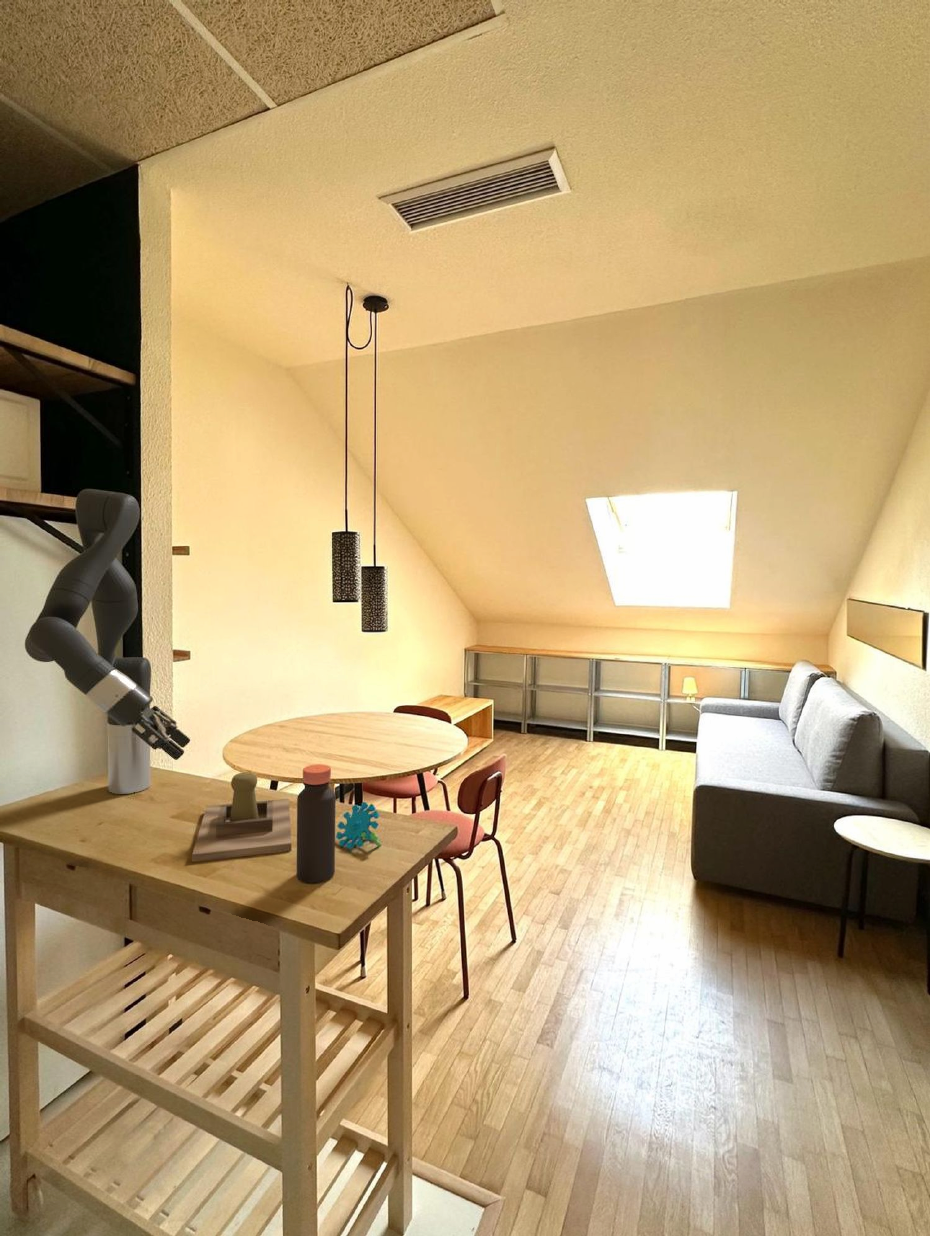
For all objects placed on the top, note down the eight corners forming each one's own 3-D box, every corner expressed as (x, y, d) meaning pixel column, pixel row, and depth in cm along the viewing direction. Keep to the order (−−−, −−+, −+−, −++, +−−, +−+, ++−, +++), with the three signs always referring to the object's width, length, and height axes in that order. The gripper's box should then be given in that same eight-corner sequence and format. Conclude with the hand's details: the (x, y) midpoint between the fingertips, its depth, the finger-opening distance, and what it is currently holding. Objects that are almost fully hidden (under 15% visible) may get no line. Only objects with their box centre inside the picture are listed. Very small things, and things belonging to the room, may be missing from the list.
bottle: (290, 872, 105) (291, 766, 104) (325, 862, 109) (326, 760, 108) (305, 889, 100) (306, 777, 99) (340, 877, 104) (342, 770, 103)
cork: (246, 816, 126) (246, 767, 125) (265, 822, 123) (265, 772, 122) (222, 826, 120) (222, 775, 120) (241, 833, 117) (241, 781, 117)
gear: (326, 831, 119) (359, 792, 122) (342, 844, 122) (374, 806, 126) (352, 858, 111) (387, 816, 114) (369, 871, 114) (402, 830, 118)
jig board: (206, 812, 131) (206, 795, 130) (288, 804, 136) (288, 788, 136) (192, 862, 108) (192, 841, 108) (291, 850, 114) (291, 831, 114)
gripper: (126, 690, 107) (193, 746, 112) (142, 677, 121) (202, 727, 125) (94, 720, 106) (163, 775, 110) (114, 703, 119) (175, 753, 124)
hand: (184, 750), depth 118 cm, fingers open, 8 cm apart
